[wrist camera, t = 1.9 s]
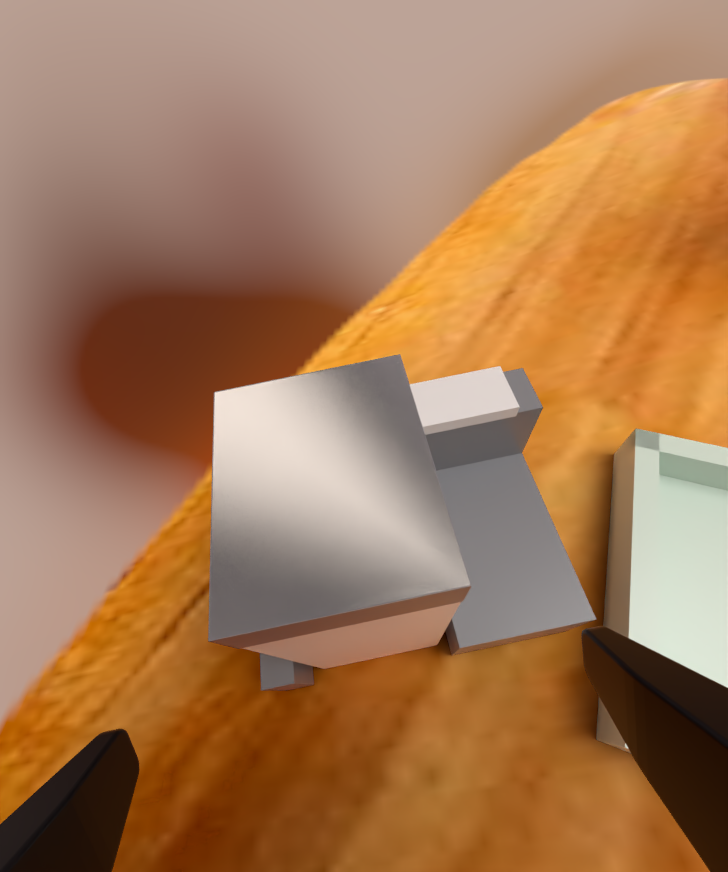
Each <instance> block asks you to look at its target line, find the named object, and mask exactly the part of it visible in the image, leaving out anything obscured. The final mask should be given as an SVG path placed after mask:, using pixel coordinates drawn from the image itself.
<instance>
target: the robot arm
mask: <svg viewBox="0 0 728 872" xmlns="http://www.w3.org/2000/svg"><path fill="white" fill-rule="evenodd" d="M582 649H583V660H584V667H585V671H586V673H587V676H588V678H589V680H590V681H591V683H592V685H593V687H594V689H595V690H596V692H597V694H598V696H599V697H600V699H601V701H602V703H603V705H604V706H605V708H606V710H607V712H608V713H609V715H610V717H611V719H612V720H613V722H614V724H615V726H616V728H617V729H618V731H619V733H620V735H621V736H622V738H623V740H624V742H625V744H626V745H627V747H628V749H629V751H630V752H631V754H632V756H633V757H634V759H635V761H636V762H637V764H638V766H639V767H640V769H641V770H642V772H643V773H644V775H645V776H646V778H647V780H648V781H649V782H650V784H651V785H652V787H653V788H654V790H655V791H656V793H657V794H658V796H659V797H660V799H661V800H662V802H663V803H664V804H665V806H666V807H667V809H668V810H669V812H670V813H671V815H672V816H673V818H674V819H675V821H676V822H677V824H678V825H679V826H680V828H681V829H682V831H683V832H684V834H685V835H686V837H687V838H688V840H689V841H690V843H691V844H692V846H693V847H694V848H695V850H696V851H697V853H698V854H699V856H700V857H701V859H702V860H703V862H704V863H705V865H706V866H707V867H708V869H709V870H710V872H728V688H727V687H725V686H723V685H721V684H719V683H717V682H715V681H713V680H711V679H709V678H707V677H705V676H703V675H701V674H699V673H697V672H695V671H693V670H691V669H689V668H687V667H685V666H683V665H681V664H680V663H678V662H676V661H674V660H672V659H670V658H668V657H666V656H664V655H662V654H660V653H658V652H656V651H654V650H652V649H650V648H648V647H646V646H644V645H642V644H640V643H638V642H636V641H634V640H632V639H630V638H628V637H626V636H624V635H622V634H620V633H618V632H616V631H614V630H612V629H610V628H608V627H605V626H597V627H593V628H588V629H585V630H583V631H582ZM138 774H139V760H138V757H137V755H136V752H135V750H134V747H133V745H132V743H131V740H130V738H129V735H128V733H127V731H125V730H124V729H116V730H111V731H106V732H103V733H101V734H99V735H98V736H97V737H95V738H94V739H93V740H92V741H91V742H90V743H89V744H88V745H87V746H86V747H84V748H83V749H82V750H81V751H80V752H79V753H78V754H77V755H76V756H75V757H74V758H72V759H71V760H70V761H69V762H68V763H67V764H66V765H65V766H64V767H63V768H62V769H60V770H59V771H58V772H57V773H56V774H55V775H54V776H53V777H52V778H51V779H49V780H48V781H47V782H46V783H45V784H44V785H43V786H42V787H41V788H40V789H39V790H37V791H36V792H35V793H34V794H33V795H32V796H31V797H30V798H29V799H28V800H26V801H25V802H24V803H23V804H22V805H21V806H20V807H19V808H18V809H17V810H16V811H14V812H13V813H12V814H11V815H10V816H9V817H8V818H7V819H6V820H5V821H3V822H2V823H1V824H0V872H112V869H113V865H114V862H115V858H116V855H117V851H118V848H119V844H120V840H121V837H122V833H123V829H124V826H125V822H126V819H127V815H128V811H129V808H130V804H131V800H132V797H133V793H134V790H135V786H136V782H137V779H138Z"/></svg>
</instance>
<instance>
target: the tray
mask: <svg viewBox="0 0 728 872" xmlns="http://www.w3.org/2000/svg"><path fill="white" fill-rule="evenodd" d="M603 626H605V627H608V628H610V629H612V630H614V631H616V632H618V633H620V634H622V635H624V636H626V637H628V638H630V639H632V640H634V641H636V642H638V643H640V644H642V645H644V646H646V647H648V648H650V649H652V650H654V651H656V652H658V653H660V654H662V655H664V656H666V657H668V658H670V659H672V660H674V661H676V662H678V663H680V664H681V665H683V666H685V667H687V668H689V669H691V670H693V671H695V672H697V673H699V674H701V675H703V676H705V677H707V678H709V679H711V680H713V681H715V682H717V683H719V684H721V685H723V686H725V687H727V688H728V448H725V447H720V446H716V445H711V444H706V443H702V442H697V441H692V440H687V439H683V438H678V437H673V436H669V435H664V434H659V433H655V432H650V431H645V430H640V429H635V430H634V431H633V432H632V434H631V435H630V436H629V437H628V438H627V439H626V441H625V442H624V443H623V444H622V445H621V446H620V448H619V449H618V450H617V451H616V452H615V454H614V463H613V479H612V495H611V510H610V526H609V542H608V558H607V574H606V590H605V606H604V622H603ZM596 740H598V741H600V742H603V743H605V744H608V745H611V746H613V747H616V748H618V749H621V750H623V751H626V752H628V753H631V752H630V751H629V749H628V747H627V745H626V744H625V742H624V740H623V738H622V736H621V735H620V733H619V731H618V729H617V728H616V726H615V724H614V722H613V720H612V719H611V717H610V715H609V713H608V712H607V710H606V708H605V706H604V705H603V703H602V701H601V699H600V697H599V702H598V718H597V734H596Z"/></svg>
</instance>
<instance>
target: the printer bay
mask: <svg viewBox="0 0 728 872" xmlns="http://www.w3.org/2000/svg"><path fill="white" fill-rule="evenodd" d="M410 388H411V391H412V394H413V398H414V401H415V404H416V407H417V410H418V414H419V417H420V420H421V423H422V427H423V430H424V433H425V436H426V440H427V443H428V446H429V449H430V452H431V456H432V459H433V462H434V465H435V469H436V472H437V475H438V478H439V482H440V485H441V488H442V491H443V494H444V498H445V501H446V504H447V507H448V511H449V514H450V517H451V520H452V524H453V527H454V530H455V533H456V536H457V540H458V543H459V546H460V549H461V553H462V556H463V559H464V562H465V566H466V569H467V572H468V575H469V578H470V582H471V585H472V586H471V588H470V590H469V592H468V593H467V595H466V597H465V599H464V600H463V602H461V603H460V605H459V606H458V608H457V610H456V612H455V614H454V616H453V617H452V619H451V621H450V623H449V625H448V626H447V628H446V630H445V632H446V636H447V639H448V643H449V647H450V651H451V655H456V654H461V653H466V652H470V651H475V650H480V649H484V648H489V647H494V646H499V645H503V644H508V643H513V642H517V641H522V640H527V639H532V638H536V637H541V636H546V635H550V634H555V633H560V632H564V631H567V630H570V629H573V628H575V627H578V626H580V625H583V624H585V623H588V622H591V621H593V620H596V617H595V615H594V613H593V611H592V608H591V606H590V604H589V602H588V599H587V597H586V595H585V593H584V590H583V588H582V586H581V584H580V582H579V579H578V577H577V575H576V573H575V570H574V568H573V566H572V564H571V561H570V559H569V557H568V555H567V553H566V550H565V548H564V546H563V544H562V541H561V539H560V537H559V535H558V532H557V530H556V528H555V526H554V524H553V521H552V519H551V517H550V515H549V512H548V510H547V508H546V506H545V504H544V501H543V499H542V497H541V495H540V492H539V490H538V488H537V486H536V483H535V481H534V479H533V477H532V475H531V472H530V470H529V468H528V466H527V463H526V461H525V459H524V457H523V454H522V452H523V449H524V447H525V445H526V443H527V441H528V439H529V437H530V434H531V432H532V430H533V428H534V426H535V424H536V421H537V419H538V417H539V415H540V413H541V411H542V409H543V407H542V405H541V403H540V401H539V399H538V397H537V395H536V393H535V391H534V389H533V387H532V385H531V383H530V381H529V379H528V378H527V376H526V374H525V372H524V370H523V368H521V369H516V370H511V371H506V372H503V371H502V369H501V367H500V366H498V367H493V368H488V369H484V370H479V371H474V372H469V373H464V374H459V375H454V376H449V377H444V378H439V379H434V380H430V381H425V382H420V383H415V384H410ZM260 671H261V690H272V691H287V690H292V689H296V688H301V687H306V686H310V685H314V678H313V667H312V666H310V665H306V664H302V663H298V662H294V661H291V660H287V659H283V658H279V657H275V656H271V655H267V654H263V653H260Z"/></svg>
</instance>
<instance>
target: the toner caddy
mask: <svg viewBox="0 0 728 872" xmlns="http://www.w3.org/2000/svg"><path fill="white" fill-rule="evenodd" d="M471 586H472V585H471V582H470V578H469V575H468V572H467V569H466V566H465V562H464V559H463V556H462V553H461V549H460V546H459V543H458V540H457V536H456V533H455V530H454V527H453V524H452V520H451V517H450V514H449V511H448V507H447V504H446V501H445V498H444V494H443V491H442V488H441V485H440V482H439V478H438V475H437V472H436V469H435V465H434V462H433V459H432V456H431V452H430V449H429V446H428V443H427V440H426V436H425V433H424V430H423V427H422V423H421V420H420V417H419V414H418V410H417V407H416V404H415V401H414V398H413V394H412V391H411V388H410V385H409V381H408V378H407V375H406V372H405V368H404V365H403V362H402V359H401V356H400V354H399V355H394V356H389V357H384V358H379V359H375V360H370V361H365V362H360V363H355V364H350V365H345V366H340V367H335V368H330V369H325V370H321V371H316V372H311V373H306V374H301V375H296V376H291V377H286V378H281V379H276V380H272V381H267V382H262V383H257V384H252V385H247V386H242V387H237V388H232V389H228V390H222V391H218V392H214V416H213V460H212V504H211V548H210V591H209V635H208V641H209V642H213V643H217V644H221V645H225V646H229V647H233V648H237V649H240V648H243V649H247V650H251V651H255V652H259V653H263V654H267V655H271V656H275V657H279V658H283V659H287V660H291V661H294V662H298V663H302V664H306V665H310V666H314V667H318V668H322V669H327V668H332V667H336V666H341V665H346V664H351V663H355V662H360V661H365V660H369V659H374V658H379V657H384V656H388V655H393V654H398V653H402V652H407V651H412V650H417V649H421V648H426V647H431V646H435V645H437V644H438V643H439V641H440V639H441V637H442V635H443V634H444V632H445V630H446V628H447V626H448V625H449V623H450V621H451V619H452V617H453V616H454V614H455V612H456V610H457V608H458V606H459V605H460V603H461V602H463V600H464V599H465V597H466V595H467V593H468V592H469V590H470V588H471Z"/></svg>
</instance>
